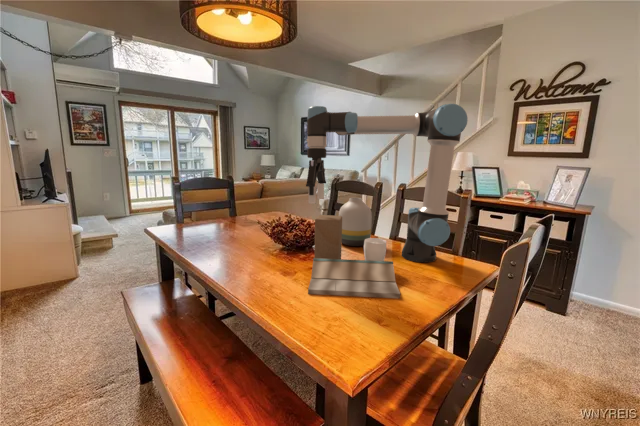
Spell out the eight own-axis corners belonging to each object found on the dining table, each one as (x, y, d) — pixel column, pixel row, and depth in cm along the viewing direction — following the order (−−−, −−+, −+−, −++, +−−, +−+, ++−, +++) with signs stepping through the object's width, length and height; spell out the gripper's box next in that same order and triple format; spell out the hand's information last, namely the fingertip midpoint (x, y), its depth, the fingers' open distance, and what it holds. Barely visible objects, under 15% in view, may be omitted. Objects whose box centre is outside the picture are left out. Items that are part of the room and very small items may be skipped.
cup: (386, 267, 127) (388, 239, 125) (383, 274, 119) (385, 245, 117) (365, 264, 130) (366, 236, 128) (360, 271, 122) (361, 242, 120)
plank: (392, 264, 116) (393, 261, 115) (394, 284, 109) (395, 281, 108) (313, 260, 118) (313, 257, 117) (311, 280, 112) (311, 277, 110)
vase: (331, 243, 160) (332, 198, 155) (350, 237, 172) (351, 195, 168) (358, 250, 149) (360, 201, 144) (376, 243, 161) (378, 198, 157)
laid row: (395, 286, 108) (395, 282, 108) (399, 298, 99) (400, 293, 99) (311, 282, 110) (311, 278, 110) (308, 293, 101) (308, 289, 101)
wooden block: (337, 268, 125) (339, 220, 122) (314, 266, 127) (314, 219, 123) (341, 260, 135) (342, 215, 131) (319, 258, 137) (319, 214, 133)
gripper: (315, 148, 134) (315, 196, 137) (297, 146, 110) (298, 205, 114) (332, 148, 132) (332, 197, 136) (318, 146, 108) (317, 206, 112)
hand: (316, 201), depth 125 cm, fingers open, 13 cm apart
